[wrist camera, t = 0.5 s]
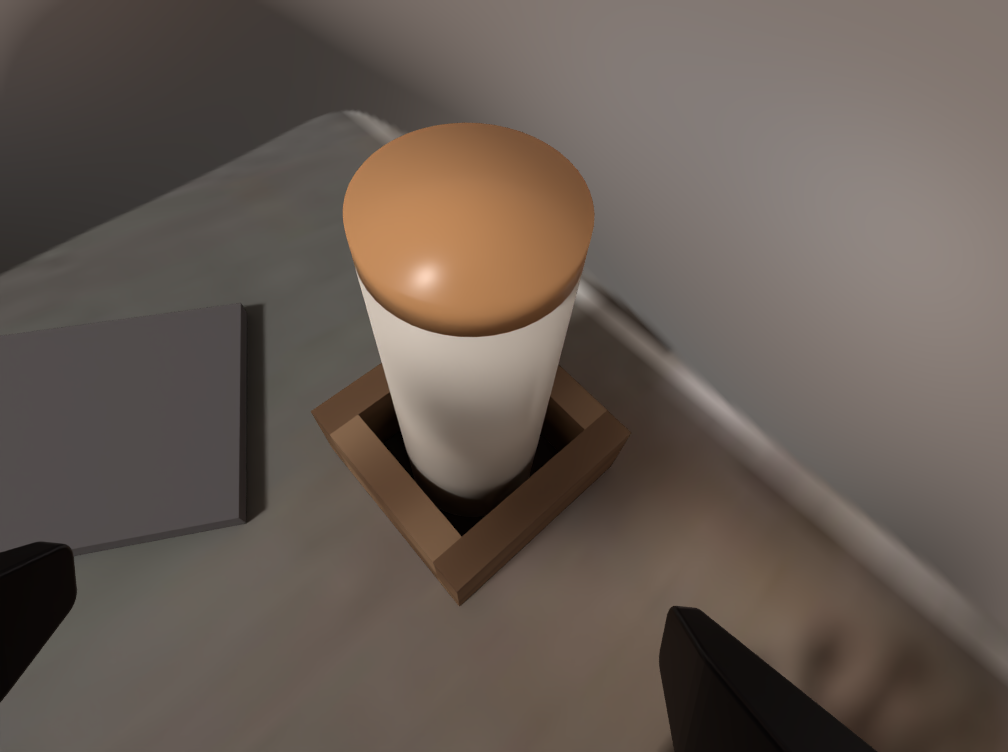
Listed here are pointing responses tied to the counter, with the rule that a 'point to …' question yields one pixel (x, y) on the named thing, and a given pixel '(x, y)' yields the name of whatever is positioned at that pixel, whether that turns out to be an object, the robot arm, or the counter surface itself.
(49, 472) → the mat
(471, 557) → the socket block
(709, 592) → the counter surface
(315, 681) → the counter surface
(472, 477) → the plug
